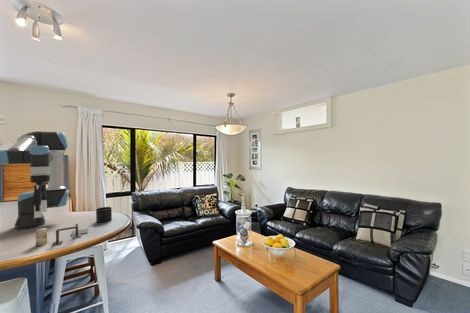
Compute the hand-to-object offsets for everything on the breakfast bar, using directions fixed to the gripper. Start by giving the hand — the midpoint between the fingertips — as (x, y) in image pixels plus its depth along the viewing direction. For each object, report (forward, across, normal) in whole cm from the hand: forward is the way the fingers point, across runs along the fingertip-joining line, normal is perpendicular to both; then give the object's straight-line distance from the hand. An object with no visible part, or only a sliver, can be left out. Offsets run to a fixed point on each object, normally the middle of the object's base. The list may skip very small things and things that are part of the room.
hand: (40, 214), depth 112 cm
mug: (+16, -27, +29) cm, 43 cm away
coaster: (+16, -9, +16) cm, 24 cm away
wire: (+16, +1, +11) cm, 19 cm away
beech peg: (+16, 0, 0) cm, 16 cm away
